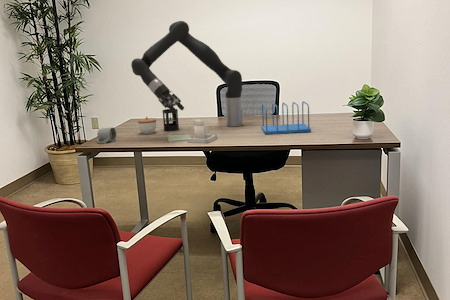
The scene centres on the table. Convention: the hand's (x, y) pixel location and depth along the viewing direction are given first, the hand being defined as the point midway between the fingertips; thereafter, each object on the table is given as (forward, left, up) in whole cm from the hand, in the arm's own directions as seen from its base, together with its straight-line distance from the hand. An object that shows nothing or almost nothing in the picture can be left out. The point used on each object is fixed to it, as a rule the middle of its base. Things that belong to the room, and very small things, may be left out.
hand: (179, 110), depth 237 cm
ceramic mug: (+40, -7, -16) cm, 44 cm away
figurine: (-10, +6, -16) cm, 20 cm away
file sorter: (-58, -5, -16) cm, 61 cm away
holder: (-11, +6, -16) cm, 20 cm away
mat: (+1, -2, -16) cm, 16 cm away
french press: (+5, -30, -16) cm, 34 cm away
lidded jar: (+19, -25, -16) cm, 35 cm away
